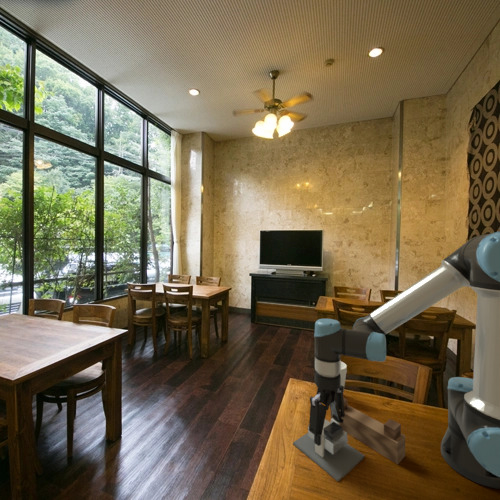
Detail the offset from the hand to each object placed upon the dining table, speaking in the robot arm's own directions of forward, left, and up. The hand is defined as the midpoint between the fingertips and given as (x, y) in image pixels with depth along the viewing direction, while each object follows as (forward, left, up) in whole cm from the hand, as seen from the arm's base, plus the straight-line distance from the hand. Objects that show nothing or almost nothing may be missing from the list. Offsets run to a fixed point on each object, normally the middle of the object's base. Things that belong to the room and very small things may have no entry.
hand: (327, 447), depth 76 cm
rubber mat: (0, 0, -1) cm, 1 cm away
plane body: (-4, -14, -1) cm, 15 cm away
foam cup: (+16, -27, -1) cm, 31 cm away
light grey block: (0, 0, +2) cm, 2 cm away
